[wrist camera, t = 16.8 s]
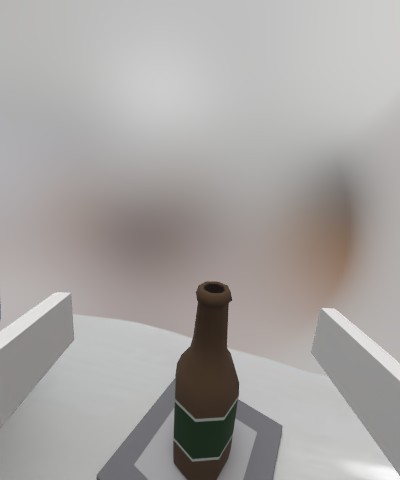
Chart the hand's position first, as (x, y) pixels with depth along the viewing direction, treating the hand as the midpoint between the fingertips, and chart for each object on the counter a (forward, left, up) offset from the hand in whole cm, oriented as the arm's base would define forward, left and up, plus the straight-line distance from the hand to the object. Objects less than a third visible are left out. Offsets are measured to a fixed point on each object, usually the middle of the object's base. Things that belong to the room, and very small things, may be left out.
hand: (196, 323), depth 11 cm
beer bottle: (-3, +9, -27) cm, 29 cm away
